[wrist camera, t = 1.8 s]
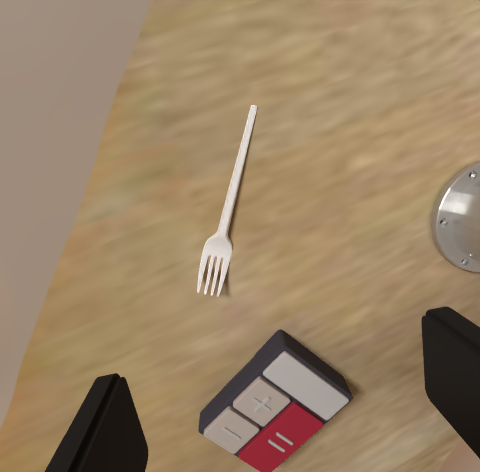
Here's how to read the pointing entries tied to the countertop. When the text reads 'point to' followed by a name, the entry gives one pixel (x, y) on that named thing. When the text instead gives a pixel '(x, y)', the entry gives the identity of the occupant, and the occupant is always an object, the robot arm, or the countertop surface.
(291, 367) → the calculator
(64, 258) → the countertop surface
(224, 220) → the fork
